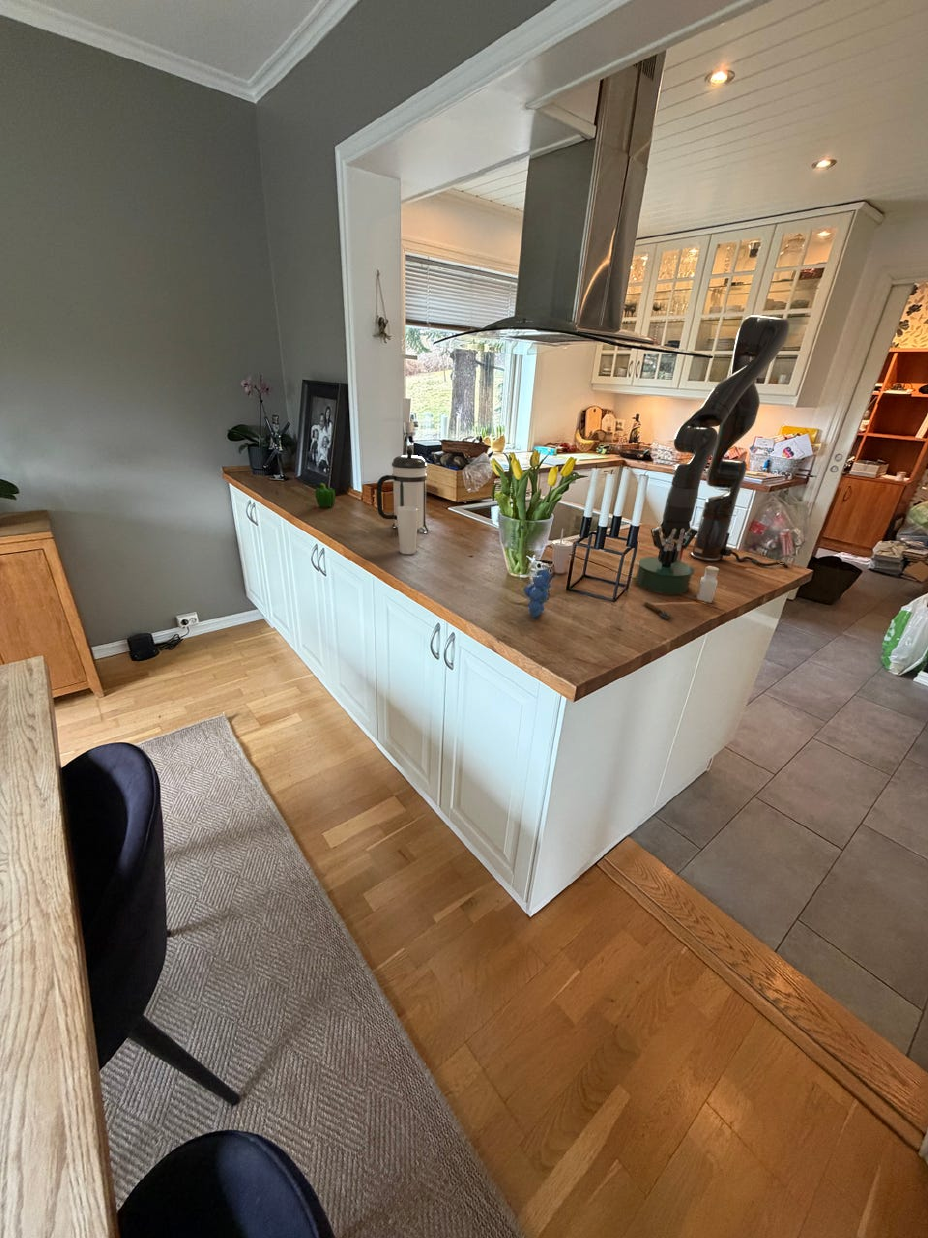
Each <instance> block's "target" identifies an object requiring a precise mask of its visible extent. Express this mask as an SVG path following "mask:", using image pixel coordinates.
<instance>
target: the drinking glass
mask: <svg viewBox="0 0 928 1238" xmlns="http://www.w3.org/2000/svg"><path fill="white" fill-rule="evenodd" d="M397 525H398V528H397V533H398V543H399V552H400V554H403V555H407V556H408V555H414V554H415V553H416V551H417V535H418V534H417V533H418V530H417V525H418V509H417V508H416V507H413V506H401V507H398V508H397Z"/></svg>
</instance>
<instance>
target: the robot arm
mask: <svg viewBox="0 0 928 1238" xmlns="http://www.w3.org/2000/svg"><path fill="white" fill-rule="evenodd" d="M789 333H790V322H789V320H788V319H786V318H781V317H773V316H767V315H766V316H765V315H755V314H752V315H749V316H746V318H744V320H743V321H742V322H741V324H740V326H739V329H738V331H737V334H736V337H735V343H734V348H733V353H732V363H731V369H730V370H731V371H730V375H729V376H727V377H726V378H724V379H723V380H721V381H720V382H719V383H718V384H717V385H715V387H714V388H713V389H712V390H711V391H710V393H709V394H708V396H707V398H706V399H705V400H704V402H703V404H702V405H701V407H700V408H699V409H698V410H697V411H696V412H694V413H693V414H692V415H691V416H690V417H689V418H687V420H685V421H684V422H683V423H682V424H681V426H680V427H679V428H678V429H677V431H676V433H675V435H674V439H673V447H674V449H675V450H676V451H677V452H678V453H681V454H688V455H693V456H692V459H691V460H690V461H689V462H682V463H678V464H677V465H676V466H675V467H674V470H673V473H672V474H673V475H672V478H671V479H672V480H671V484H670V488H669V489H668V493H667V497H666V501H665V505H664V511H663V515H662V521H661V523H660V524H659V526H658V527H656V528H655V527H651V528H650V534H651V537H652V542H653V546H654V547H655V548H657V549H658V550H659V551H658V556H657V557H658V560H659V562H661V563H665V560H666V556H667V550H668V547H669V544H671V542H672V540H673V550H674V554H673V558H672V563H675V561H676V560H677V557H678V554H679V551H680V550H681V549H684V550H686V549H688V547H689V545H690V544H691V543H692V541H693V540H694V542H693V546H692V550H691V554H690V556H691V557H692V558H693V559H697V560H699V561H704V562H720V561H722V560H723V558H724V557H731V555H732V556H734V557H735V560H736V561H738V562H739V563H742V562H743V561H745V560H748V561H751V562H753V563H755V564H756V565H758V566H761V567H773V566H777V565H778V566H779V565H780V566H783V567H784V568H786V569H789V565H788V564H786V563H785V562H783V561H774V562H768V563H766V562H760V561H758V560H757V559H755V558H754V557H751V556H742V557H741V558H740V556H739V554H738V553H737V552H735V551H733V549H732V548H729V547H727V544H728V541H729V538H730V532H729V528H730V525H731V523H732V522H731V521H732V518H733V515H734V511H735V507H736V503H737V500H738V496H739V494H740V490H741V487H742V485H743V482H744V479H745V476H746V473H747V467H748V464H747V462H746V461H745V460H742V459H733V458H724V457H725V455H726V454H727V452H728V451H729V450H730V449H731V448H732V447H733V446H734V445H735V444H736V443H737V442H739V441H740V440H741V439H742V438H743V437H745V436H746V435H747V433H749V432H750V430H752V428H753V427H754V425H755V423H756V418H757V415H758V412H759V408H760V405H761V404H760V400H761V399H760V394H759V391H758V389H757V386H756V384H755V381H756V380H757V379H758V378H759V377H760V376H761V374H762V373H763V372H764V371H765V370H766V369H767V368H768V366H769V365H770V364H771V363H772V362H773V361H774V360H775V358H776V357H777V356H778V354H779V353H780V352H781V350H782V349H783V348H784V345H785V343H786V341H787V339H788V337H789ZM751 358H753V359H752V360H751ZM716 427H718V431H717V430H716V429H715V428H716ZM709 461H710V462H709ZM708 463H709V466H708V469H707V474H706V485H707V486H708V487H711V488H716V489H726V490H728V491H727V492H725V493H723V494H721V495H717V496H710V497H708V498H706V499H705V501H704V504H703V508H702V512H701V515H700V520H699V524H698V528H697V529H695V528H693V527H691V522H692V519H693V516H694V512H695V508H696V504H697V500H698V496H699V494H698V493H699V487H700V483H701V480H702V476H703V473H704V471H705V468H706V467H707V465H708ZM685 533H686V534H685ZM684 534H685V536H684V537H683V535H684ZM661 535H662V536H661ZM694 538H695V539H694ZM778 562H780V563H784V564H780V563H778ZM785 564H786V565H785Z"/></svg>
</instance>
